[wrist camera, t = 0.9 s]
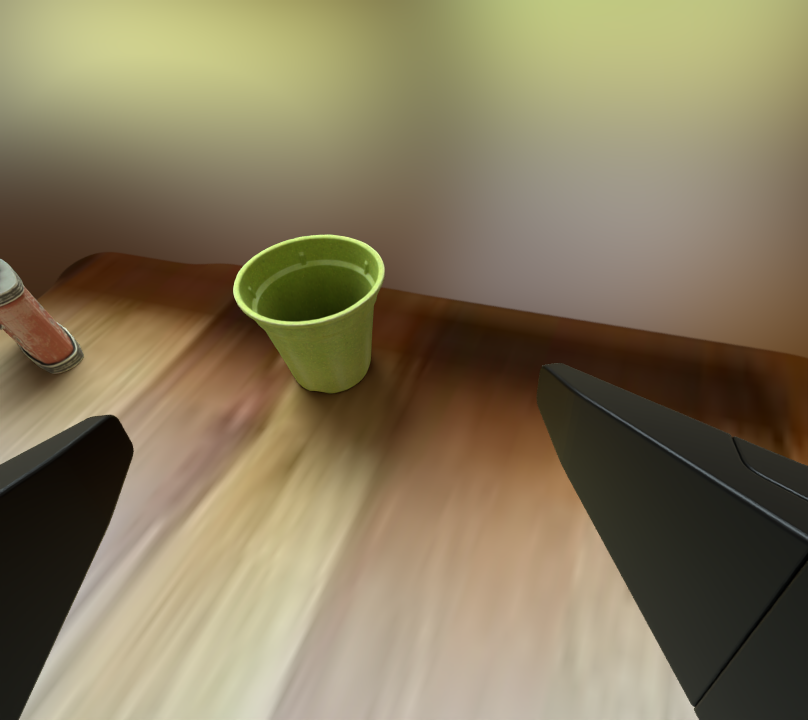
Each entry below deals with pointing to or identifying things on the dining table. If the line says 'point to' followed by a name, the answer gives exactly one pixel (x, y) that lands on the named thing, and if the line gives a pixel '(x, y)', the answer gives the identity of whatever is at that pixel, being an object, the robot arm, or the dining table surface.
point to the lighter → (35, 326)
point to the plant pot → (315, 306)
